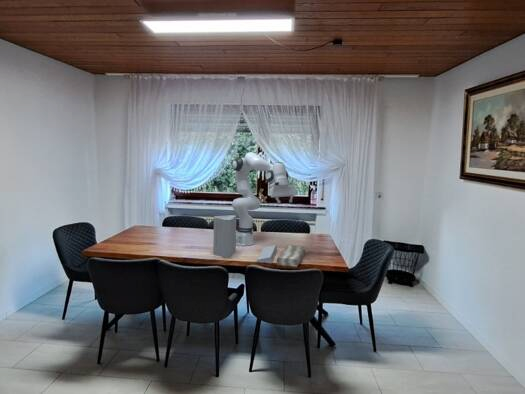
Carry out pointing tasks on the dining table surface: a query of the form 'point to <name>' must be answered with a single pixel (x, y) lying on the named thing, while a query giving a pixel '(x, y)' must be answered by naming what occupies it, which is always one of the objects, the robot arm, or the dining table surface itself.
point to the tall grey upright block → (224, 236)
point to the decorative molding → (267, 254)
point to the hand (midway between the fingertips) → (285, 202)
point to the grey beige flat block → (291, 256)
